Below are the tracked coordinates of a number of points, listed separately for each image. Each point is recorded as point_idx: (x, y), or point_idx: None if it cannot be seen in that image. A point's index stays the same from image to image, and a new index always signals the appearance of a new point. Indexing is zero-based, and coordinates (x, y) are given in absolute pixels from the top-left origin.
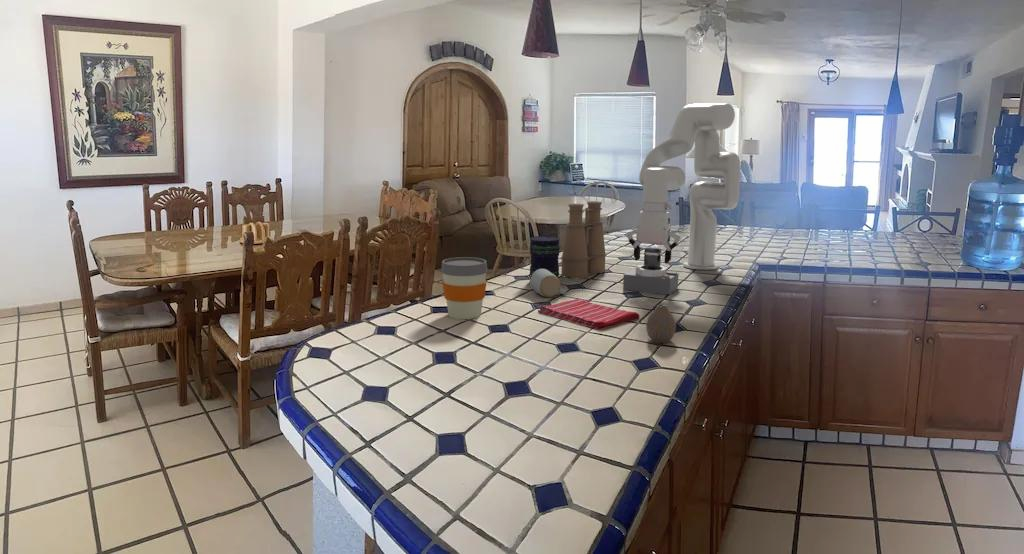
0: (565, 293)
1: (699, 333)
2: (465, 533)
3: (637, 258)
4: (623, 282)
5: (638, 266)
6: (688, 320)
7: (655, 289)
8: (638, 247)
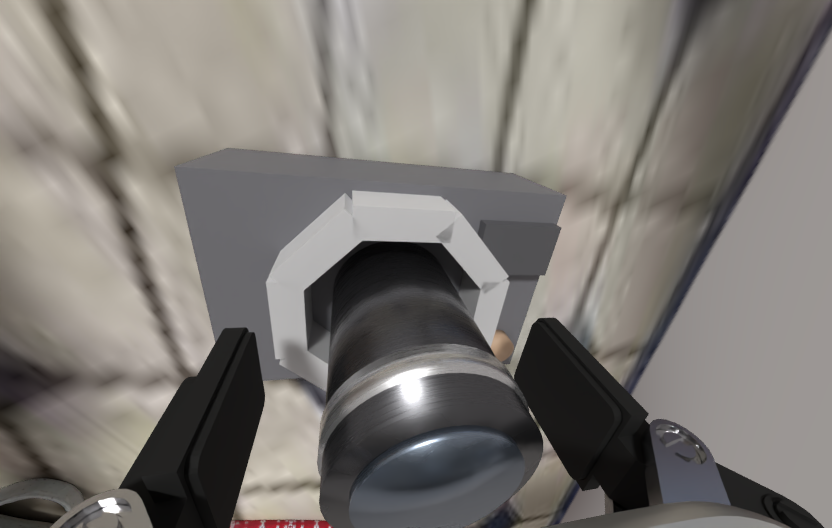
0: (81, 498)
1: (540, 521)
2: None
3: (260, 407)
4: None
5: (282, 327)
6: (527, 484)
7: None
8: (194, 522)
